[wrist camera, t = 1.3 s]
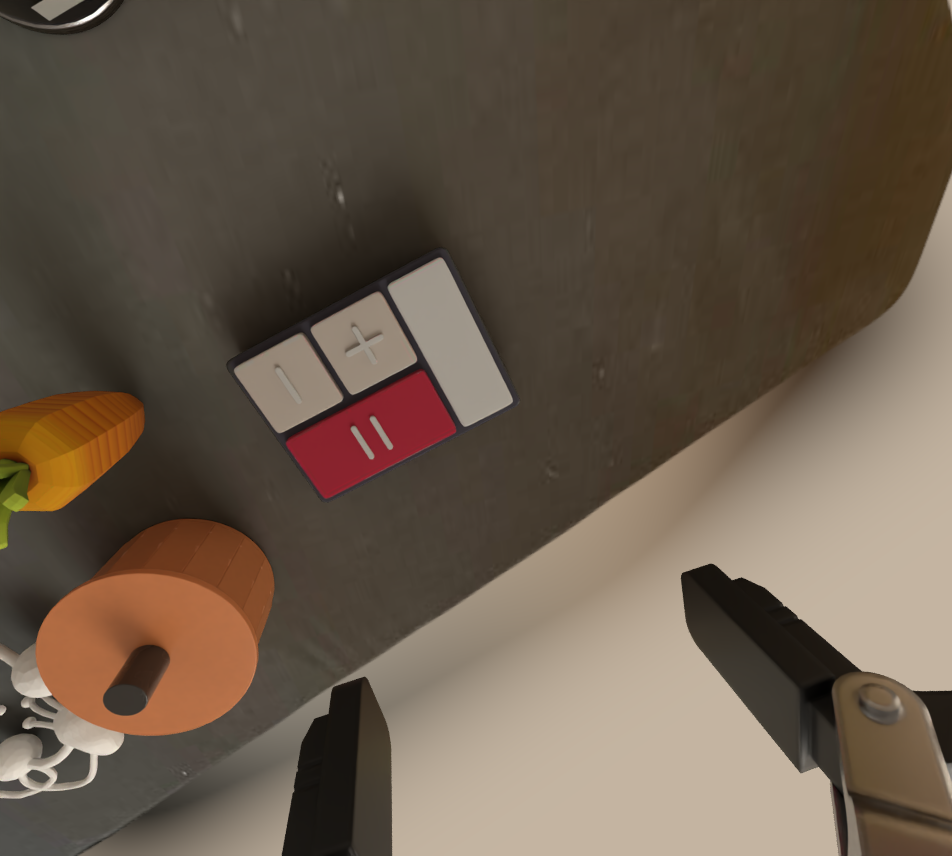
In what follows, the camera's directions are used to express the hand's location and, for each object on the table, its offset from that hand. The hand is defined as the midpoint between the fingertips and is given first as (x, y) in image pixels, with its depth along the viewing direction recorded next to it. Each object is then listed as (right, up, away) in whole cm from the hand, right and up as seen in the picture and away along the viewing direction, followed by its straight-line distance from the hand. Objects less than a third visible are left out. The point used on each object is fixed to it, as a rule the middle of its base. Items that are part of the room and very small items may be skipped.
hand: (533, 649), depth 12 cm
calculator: (-8, +9, +22) cm, 25 cm away
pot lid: (-21, -8, +18) cm, 29 cm away
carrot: (-23, +7, +20) cm, 32 cm away
